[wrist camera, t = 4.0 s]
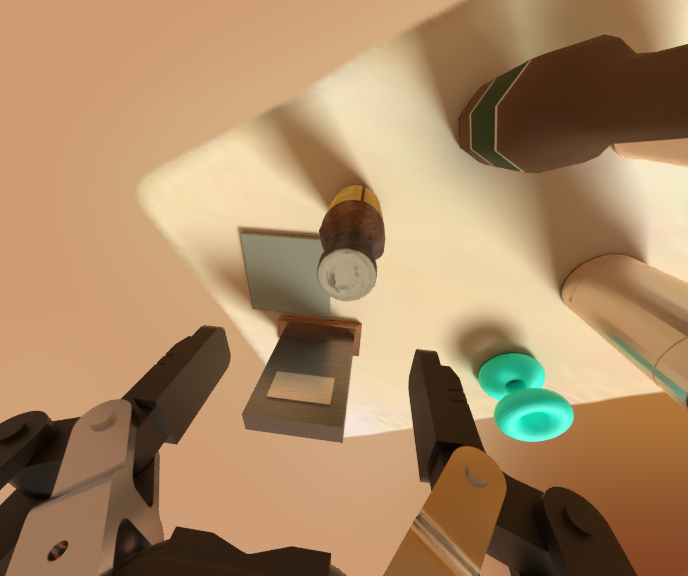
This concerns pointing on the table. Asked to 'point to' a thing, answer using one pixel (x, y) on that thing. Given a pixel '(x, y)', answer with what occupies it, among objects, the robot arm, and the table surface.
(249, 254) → the mat
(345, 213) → the sauce bottle
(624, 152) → the drinking glass
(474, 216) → the table surface
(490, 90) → the beer bottle
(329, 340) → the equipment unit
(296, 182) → the table surface
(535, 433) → the donuts
